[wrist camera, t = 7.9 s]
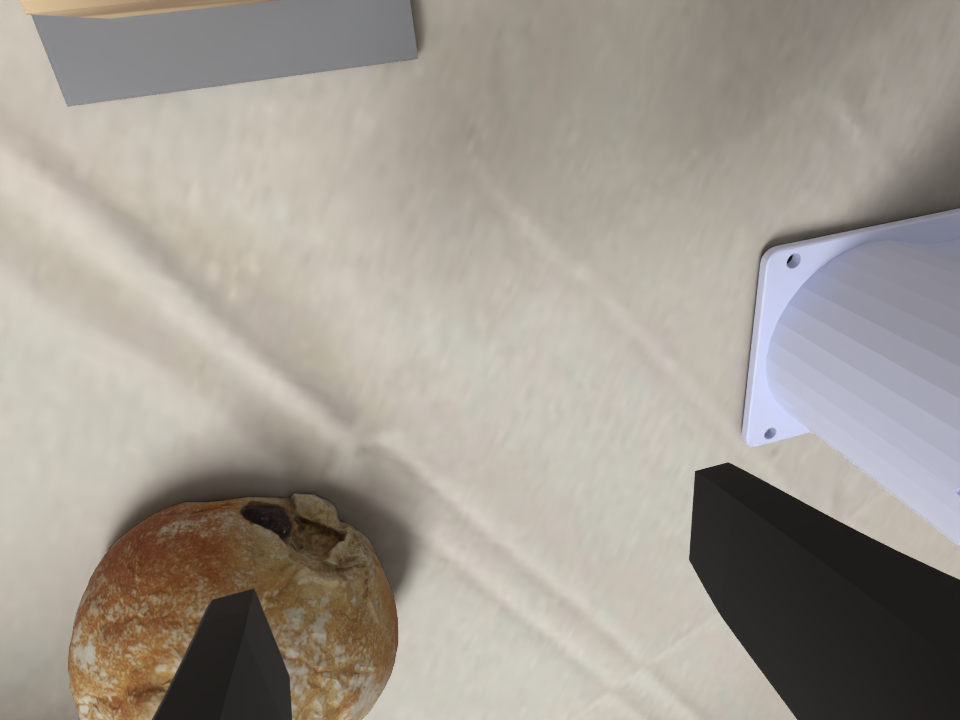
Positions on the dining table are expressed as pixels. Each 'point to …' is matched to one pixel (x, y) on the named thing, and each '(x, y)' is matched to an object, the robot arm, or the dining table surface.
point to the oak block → (121, 7)
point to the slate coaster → (221, 45)
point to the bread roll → (228, 570)
